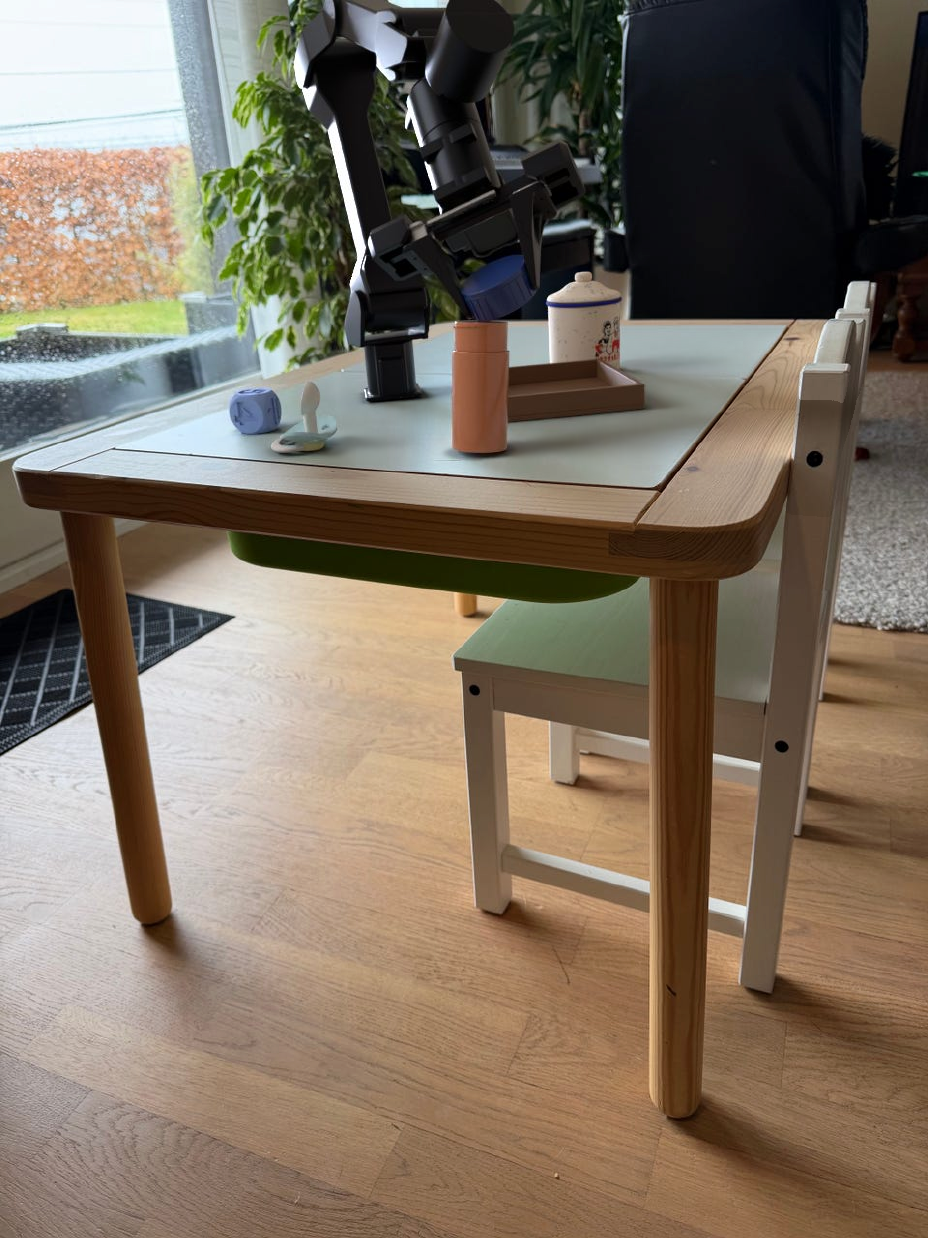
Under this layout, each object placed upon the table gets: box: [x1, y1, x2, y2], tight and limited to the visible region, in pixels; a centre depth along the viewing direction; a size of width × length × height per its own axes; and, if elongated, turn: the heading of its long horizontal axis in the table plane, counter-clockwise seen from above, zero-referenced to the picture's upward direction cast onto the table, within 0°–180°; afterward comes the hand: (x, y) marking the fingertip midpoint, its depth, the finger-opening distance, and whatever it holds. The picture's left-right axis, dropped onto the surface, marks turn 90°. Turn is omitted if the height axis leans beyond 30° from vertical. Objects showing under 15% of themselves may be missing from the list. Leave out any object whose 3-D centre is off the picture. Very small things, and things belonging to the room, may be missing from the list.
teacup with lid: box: [545, 271, 623, 370], centre depth 117 cm, size 12×9×12 cm
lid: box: [460, 254, 538, 322], centre depth 82 cm, size 6×6×3 cm
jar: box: [451, 320, 510, 454], centre depth 84 cm, size 5×5×11 cm
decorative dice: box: [228, 387, 283, 435], centre depth 99 cm, size 4×4×4 cm
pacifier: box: [270, 380, 338, 454], centre depth 90 cm, size 7×6×6 cm
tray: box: [508, 359, 645, 423], centre depth 103 cm, size 17×15×2 cm
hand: (502, 302), depth 81 cm, fingers closed on lid, 6 cm apart
